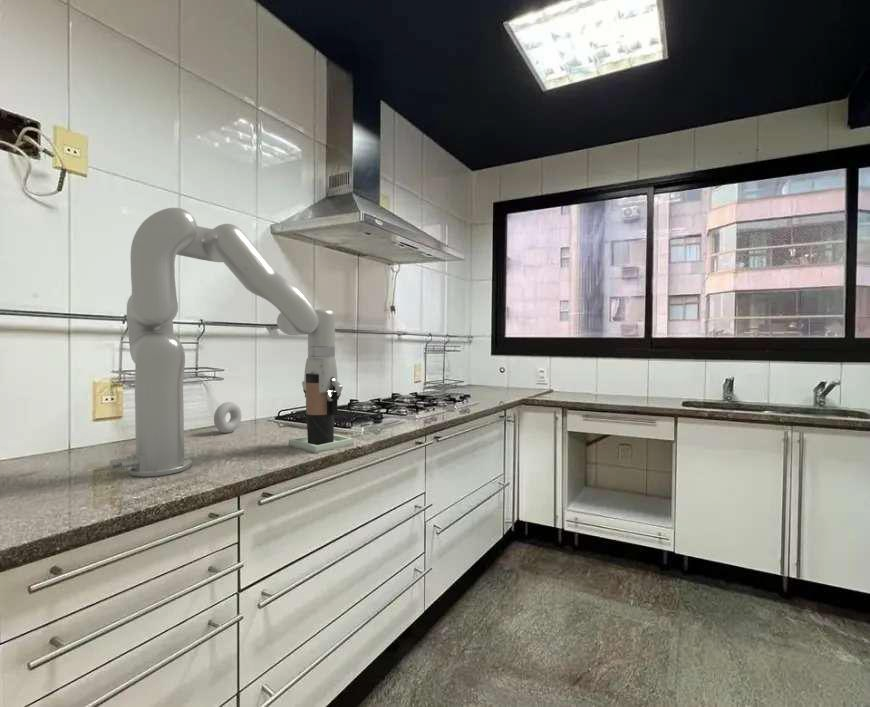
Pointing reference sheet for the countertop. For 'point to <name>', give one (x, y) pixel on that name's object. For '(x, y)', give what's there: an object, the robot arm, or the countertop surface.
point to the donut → (221, 414)
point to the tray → (304, 445)
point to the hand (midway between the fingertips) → (321, 412)
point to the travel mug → (317, 413)
